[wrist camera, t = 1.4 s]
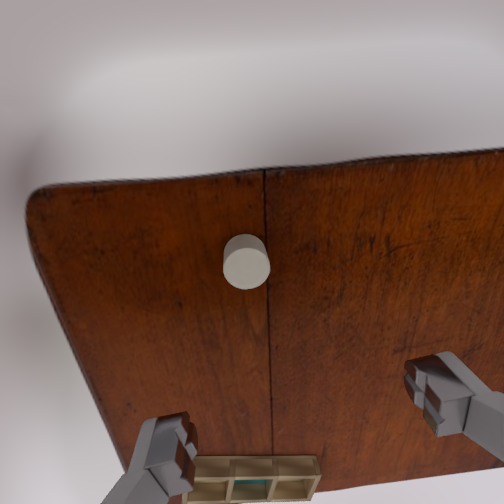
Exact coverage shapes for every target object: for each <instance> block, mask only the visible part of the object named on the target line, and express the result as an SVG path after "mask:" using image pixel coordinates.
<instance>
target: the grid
mask: <svg viewBox="0 0 504 504" xmlns="http://www.w3.org/2000/svg"><path fill="white" fill-rule="evenodd" d="M192 462H193V463H194V465H195V467H196V469H195V479H194V488H193V491H191V492H187V493H183V494H182V504H216V503H251V502H289V501H310V500H311V498H312V496H313V494H314V491H315V489H316V487H317V485H318V482H319V480H320V478H321V472H320V468H319V465H318V461H317V457H316V455H300V456H195V457H194V459H193V460H192Z"/></svg>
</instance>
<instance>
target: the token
mask: <svg viewBox="0 0 504 504" xmlns="http://www.w3.org/2000/svg"><path fill="white" fill-rule="evenodd" d="M223 272H224V276H225V278H226V279H227V281H228V282H229V283H230V284H231V285H233V286H235V287H237V288H240V289H252V288H255V287H257V286H259V285H261V284H262V283H263V282H264V281H265V280H266V279H267V277H268V275H269V272H270V263H269V259H268V256H267V253H266V250H265V247H264V244H263V243H262V241H261V240H260V239H259V238H257V237H256V236H253V235H250V234H241V235H237V236H235V237H233V238H232V239H231V240H229V242H228V243H227V244H226V246H225V249H224V262H223Z"/></svg>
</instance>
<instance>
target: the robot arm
mask: <svg viewBox="0 0 504 504" xmlns="http://www.w3.org/2000/svg"><path fill="white" fill-rule="evenodd" d="M404 368H405V369H406V371H407V373H406V375H405V376H404V384H405V387H406V390H407V392H408V394H409V396H410V398H411V400H412V401H413V403H414V404H415V405H417V406H418V407H420V408H422V409H423V417H424V419H425V420H426V421H427V423H428V424H429V426H430V427H431V429H432V430H433V432H434V433H435V434H436V436H437V437H441V436H446V435H451V434H457V433H462V432H464V434H465V435H466V436H467V437H469V438H470V439H472V440H473V441H475V442H476V443H477V444H479V445H480V446H482V447H483V448H484V449H486V450H487V451H489V452H490V453H492V454H493V455H494V456H496V457H497V458H499V459H500V460H501V461H503V462H504V394H503V393H500V392H498V391H495V392H492V391H491V390H490V389H489V388H488V387H487V386H486V385H485V384H484V383H483V382H482V381H481V380H480V379H479V378H478V377H477V376H476V375H475V374H474V373H473V372H472V371H471V370H470V369H469V368H467V367H466V366H465V365H464V364H463V363H462V362H461V361H460V360H459V359H458V358H457V357H456V356H455V355H454V354H453V353H451V352H449V351H446V352H442V353H438V354H434V355H433V354H432V355H427V356H423V357H419V358H415V359H411V360H407V361H406V362H405V365H404ZM189 419H190V416H189V414H188V413H187V411H185V412H180V413H175V414H170V415H166V416H161V417H156V418H151V419H147V420H145V421H144V423H143V424H142V426H141V430H140V433H139V436H138V440H137V443H136V446H135V449H134V453H133V456H132V459H131V463H130V466H129V469H128V473H126V474H123V475H122V476H121V478H120V479H119V481H118V482H117V483H116V484H115V486H114V487H113V489H112V490H111V491H110V492H109V494H108V495H107V496H106V498H105V499H104V500H103V501H102V503H101V504H167V502H168V500H169V498H168V497H171V496H175V495H179V494H183V493H187V492H191V491H193V488H194V479H195V469H196V467H195V465H194V463H193V462H192V460H193V459H194V457H195V456H196V454H197V449H198V436H197V431H196V427H195V425H194V424H193V423H191V422H189Z"/></svg>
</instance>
